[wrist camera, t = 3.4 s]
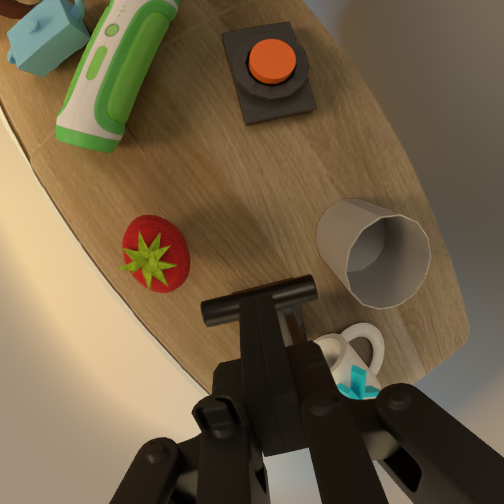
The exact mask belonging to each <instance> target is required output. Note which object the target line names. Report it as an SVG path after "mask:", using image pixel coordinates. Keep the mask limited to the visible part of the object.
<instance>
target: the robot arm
mask: <svg viewBox="0 0 504 504" xmlns="http://www.w3.org/2000/svg"><path fill="white" fill-rule="evenodd" d="M239 320H240V352H241V359H236V360H231V361H227V362H222V363H219V365H218V366H217V368H216V369H215V371H214V373H213V385H212V390H213V391H212V395H210V396H207V397H205V398H203V399H202V400H200V401H199V402H198V403H197V404H196V405H195V406H194V408H193V410H192V415H193V417H194V418H195V420H196V422H197V424H198V426H199V428H200V429H201V431H202V433H200V434H199V435H198V436H196V437H194V438H192V439H189V440H186V441H184V442H181V443H178V444H176V443H175V442H174V441H173V440H172V439H169V438H166V437H161V438H155V439H152V440H150V441H148V442H147V443H145V444H144V445H143V446H142V447H141V448H140V450H139V451H138V453H137V455H136V456H135V458H134V460H133V462H132V464H131V465H130V467H129V469H128V471H127V473H126V474H125V476H124V478H123V480H122V482H121V483H120V485H119V487H118V489H117V491H116V492H115V494H114V496H113V498H112V500H111V501H110V503H109V504H271V503H270V495H269V486H268V477H267V470H266V467H265V465H264V463H263V456H262V452H263V454H264V456H265V457H268V456H273V455H277V454H282V453H287V452H291V451H296V450H300V449H304V448H308V447H309V450H310V454H311V459H312V463H313V467H314V471H315V476H316V479H317V484H318V488H319V493H320V497H321V501H322V504H389V503H388V500H387V498H386V495H385V492H384V490H383V487H382V485H381V482H380V480H379V477H378V475H377V473H376V470H375V468H374V465H373V463H372V460H377V461H378V463H379V464H380V465H381V466H382V467H383V469H384V470H385V471H386V472H387V473H388V474H389V476H390V477H391V478H392V479H393V480H394V481H395V483H396V484H397V485H398V486H399V487H400V488H401V490H402V491H403V492H404V493H405V494H406V495H407V496H408V498H410V500H411V501H412V502H413V503H414V504H504V457H502V456H501V455H500V454H499V453H497V452H496V451H495V450H494V449H492V448H491V447H490V446H489V445H487V444H486V443H485V442H484V441H482V440H481V439H479V437H477V436H476V435H475V434H473V433H472V432H471V431H470V430H469V429H467V428H466V427H465V426H464V425H462V424H461V423H460V422H459V421H457V420H456V419H455V418H454V417H452V416H451V415H450V414H449V413H447V412H446V411H445V410H444V409H442V408H441V407H440V406H438V405H437V404H436V403H435V402H434V401H433V400H431V399H430V398H429V397H427V396H426V395H425V394H424V393H423V392H421V391H420V390H419V389H418V388H416V387H414V386H412V385H410V384H405V383H397V384H392V385H389V386H387V387H385V388H384V389H382V390H381V391H380V392H379V393H378V395H377V397H376V398H374V399H352V398H349V397H346V396H344V395H343V394H342V393H341V392H340V391H339V389H338V387H337V385H336V383H335V380H334V378H333V376H332V373H331V371H330V368H329V366H328V364H327V361H326V359H325V357H324V354H323V352H322V350H321V347H320V346H319V345H318V344H316V343H315V342H313V341H312V340H309V341H306V342H302V343H298V344H295V345H291V346H287V347H285V343H284V339H283V336H282V332H281V328H280V324H279V320H278V316H277V313H276V309H275V305H274V301H273V297H272V294H268V295H264V296H260V297H256V298H252V299H248V300H244V301H240V302H239Z"/></svg>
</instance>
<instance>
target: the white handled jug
mask: <svg viewBox="0 0 504 504" xmlns="http://www.w3.org/2000/svg"><path fill="white" fill-rule="evenodd" d="M357 337H365V338H367V339H368V340H370V342H371V344H372V347H373V358H372V362H371V364H370V366H369V368H368V367H367V366H366V364H365V363H364V362H363V361H362V359H361V358H360V357H359V356H358V354H357V353H356V352H355V351H354V349H353V348H352V347H351V346H350V344H349V342H350V341H351V340H352V339H354V338H357ZM313 342H315V343H316V344H318V345H319V346H320V347H321V350H322V352H323V354H324V357H325V359H326V361H327V364H328V366H329V368H330V371H331V373H332V376H333V378H334V380H335V383H336V385H337V387H338V389H339V391H340V392H341V393H342V394H343V395H344V396H346V397H349V398H352V399H374V398H376V397H377V395H378V393H379V392H380V391H381V386H380V383H379V381H378V380H377V378H376V377H375V376H376V375H377V373H378V372H379V370H380V367H381V365H382V362H383V358H384V350H385V345H384V340H383V337H382V334H381V332H380V331H379V330H378V329H377V328H376V327H375V326H374V325H372V324H369V323H358V324H354V325H352V326H350V327H348V328H347V329H345V330H344V331H343V332H342V333H341V334H335V333H332V334H326V335H323V336H321V337H319V338H317V339H315V340H314V341H313Z"/></svg>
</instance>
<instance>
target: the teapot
mask: <svg viewBox="0 0 504 504" xmlns="http://www.w3.org/2000/svg"><path fill="white" fill-rule="evenodd" d="M74 1H75V6H74V5H73V4H72V3H71V2H69V1H68V0H43V1H42V2H41V3H40V4H38V5H37V6H36V7H35V8H34V9H32V10H31V11H30V12H29V13H28V14H27V15H25V16H24V17H23V18H22V19H21V20H20V21H19V22H18V23H17V24H16V25H15V26H13V27H12V28H11V29H10V30H9V31H8V32H7V35H8V39H9V42H10V46H11V49H10V50H9V52H8V55H7V60H8V62H9V63H10V64H16V65H17V68H18V69H20V70H23V71H26V72H29V73H32V74H35V75H38V76H41V77H45V76H46V75H47V74H48V73H49V72H51V71H52V70H53V69H55V68H57V67H58V66H59V65H60V63H61V62H63V61H64V60H65V59H66V58H68V57H69V56H70V55H72V54H73V53H74V52H76V51H77V50H79V49H81V48H83V47H84V45H85V44H86V43H88V42H89V40H90V38H91V37H90V35H89V33H88V31H87V29H86V26H85V24H84V22H83V18H84V16H85V5H84V1H83V0H74ZM12 56H14V57H12Z"/></svg>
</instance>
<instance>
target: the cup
mask: <svg viewBox="0 0 504 504" xmlns="http://www.w3.org/2000/svg"><path fill="white" fill-rule="evenodd" d="M315 241H316V244H317V247H318V250H319V254H320V256H321V257H322V259H323V260H324V261H325V262H326V263H327V265H328V266H329V267H330V268H331V269H332V271H333V272H334V273H335V274H336V276H337V277H338V278H339V279H340V280H341V282H342V283H343V284H344V285H345V287H346V288H347V289H348V290H349V291H350V293H351V294H352V295H353V296H354V297H355V298H356V299H357V300H358V301H359V302H360V303H361V304H362V305H364V306H367V307H371V308H375V309H378V310H382V309H387V308H391V307H396V306H399V305H401V304H402V303H403V302H405V301H406V300H408V299H409V298H410V297H412V296H413V295H414V294H415V293H416V292H417V290H418V289H419V287H420V286H421V284H422V283H423V281H424V280H425V278H426V277H427V273H428V269H429V264H430V260H431V251H430V245H429V238H428V236H427V235H426V233H425V232H424V230H423V229H422V227H421V226H420V225H419V223H418V222H417V221H415V220H412V219H410V218H408V217H406V216H403V215H401V214H399V213H396V212H394V211H391V210H388V209H386V208H383V207H380V206H378V205H375V204H372V203H370V202H367V201H364V200H362V199H359V198H352V199H343V200H340V201H338V202H337V203H335V204H334V205H332V206H331V207H329V208H328V209H327V210H326V211H325V213H324V214H323V216H322V218H321V219H320V221H319V222H318V225H317V232H316V239H315Z"/></svg>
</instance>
